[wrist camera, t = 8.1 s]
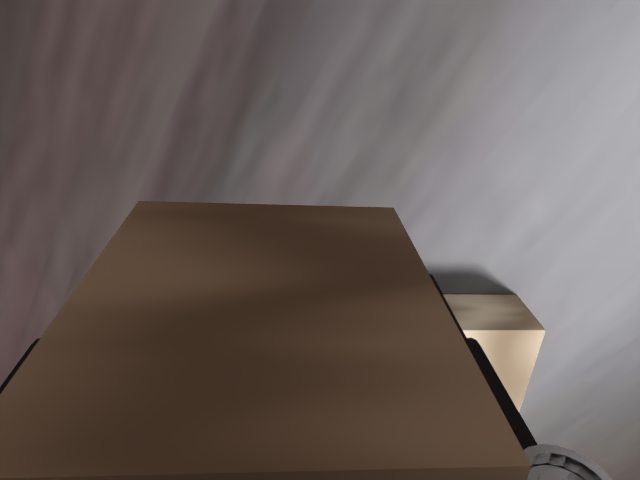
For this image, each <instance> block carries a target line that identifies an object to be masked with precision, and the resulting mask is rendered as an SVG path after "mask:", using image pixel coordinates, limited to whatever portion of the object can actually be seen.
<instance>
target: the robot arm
mask: <svg viewBox="0 0 640 480" xmlns="http://www.w3.org/2000/svg"><path fill="white" fill-rule="evenodd" d="M429 275H430V274H429ZM430 277H431V279H432V281H433V282H434V284H435V286H436V288H437V290H438V292H439V294H440V296H441V297H442V299H443V301H444V303H445V305H446V307H447V309H448V311H449V312H450V314H451V316H452V318H453V320H454V322H455V324H456V325H457V327H458V329H459V331H460V333H461V335H462V337H463V339H464V340H465V342H466V344H467V346H468V348H469V350H470V352H471V353H472V355H473V357H474V359H475V361H476V363H477V365H478V367H479V368H480V370H481V372H482V374H483V376H484V378H485V380H486V382H487V383H488V385H489V387H490V389H491V391H492V393H493V395H494V396H495V398H496V400H497V402H498V404H499V406H500V408H501V410H502V411H503V413H504V415H505V417H506V419H507V421H508V423H509V424H510V426H511V428H512V430H513V432H514V434H515V436H516V438H517V439H518V441H519V443H520V445H521V447H522V449H523V451H524V453H525V454H526V456H527V458H528V460H529V462H530V464H531V469H530V472H529V474H528V477H527V480H612V479H611V477H610V476H609V475H608V474H607V473H606V472H605V471H604V470H603V469H602V468H600V467H599V466H598V465H596V464H595V463H594V462H592V461H591V460H590V459H588V458H586V457H584V456H582V455H580V454H579V453H577V452H575V451H573V450H570V449H566V448H563V447H560V446H557V445H545V444H540V445H537V443H536V441H535V440H534V438H533V436H532V434H531V433H530V431H529V429H528V427H527V426H526V424H525V422H524V420H523V419H522V417H521V415H520V413H519V412H518V410H517V408H516V406H515V405H514V403H513V401H512V399H511V398H510V396H509V394H508V392H507V391H506V389H505V387H504V386H503V384H502V382H501V380H500V379H499V377H498V375H497V373H496V372H495V370H494V368H493V366H492V365H491V363H490V361H489V359H488V358H487V356H486V354H485V352H484V351H483V349H482V347H481V345H480V344H479V343H478V341H477V340H476V339H473V338H466V336H465V334H464V332H463V330H462V328H461V327H460V325H459V323H458V321H457V319H456V317H455V316H454V314H453V312H452V310H451V308H450V306H449V305H448V303H447V301H446V299H445V297H444V295H443V294H442V292H441V290H440V288H439V286H438V284H437V283H436V281H435V279H434V277H433V276H432V275H430ZM39 340H40V338H39V339H36V340H35V342H34V343H33V344H32V345H31V346H30V347H29V349H28V350H27V351H26V353H25V354H24V355H23V357H22V358H21V359H20V361H19V362H18V364H17V365H16V366H15V368H14V369H13V370H12V372H11V373H10V375H9V376H8V377H7V379H6V380H5V381H4V383H3V384H2V385H1V387H0V394H1V393H2V391H3V390H4V388H5V387H6V386H7V384H8V383H9V382H10V380H11V379H12V377H13V376H14V375H15V373H16V372H17V370H18V369H19V368H20V366H21V365H22V363H23V362H24V361H25V359H26V358H27V356H28V355H29V354H30V352H31V351H32V349H33V348H34V347H35V345H36V344H37V342H38V341H39Z"/></svg>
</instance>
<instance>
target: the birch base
mask: <svg viewBox="0 0 640 480" xmlns="http://www.w3.org/2000/svg"><path fill="white" fill-rule="evenodd" d="M443 295H444V297H445V299H446V301H447V303H448V305H449V306H450V308H451V310H452V312H453V314H454V316H455V317H456V319H457V321H458V323H459V325H460V327H461V328H462V330H463V332H464V334H465V336H466V338H473V339H476V340H477V341H478V343H479V344H480V345H481V347H482V349H483V351H484V352H485V354H486V356H487V358H488V359H489V361H490V363H491V365H492V366H493V368H494V370H495V372H496V373H497V375H498V377H499V379H500V380H501V382H502V384H503V386H504V387H505V389H506V391H507V392H508V394H509V396H510V398H511V399H512V401H513V403H514V405H515V406H516V408H517V410H518V412H519V411H520V408H521V405H522V402H523V399H524V395H525V392H526V389H527V386H528V383H529V380H530V377H531V374H532V371H533V368H534V365H535V362H536V359H537V355H538V352H539V349H540V346H541V343H542V340H543V337H544V334H545V331H546V330H545V329H544V327H543V326H542V325H541V324H540V323H539V321H538V320H537V319H536V318H535V316H534V315H533V314H532V313H531V312H530V310H529V309H528V308H527V307H526V305H525V304H524V303H523V302H522V301H521V299H520V298H519V297H518V296H517V295H475V294H443Z"/></svg>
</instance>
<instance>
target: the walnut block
mask: <svg viewBox="0 0 640 480" xmlns="http://www.w3.org/2000/svg"><path fill="white" fill-rule="evenodd" d="M530 469H531V464H530V462H529V460H528V458H527V456H526V454H525V453H524V451H523V449H522V447H521V445H520V443H519V441H518V439H517V438H516V436H515V434H514V432H513V430H512V428H511V426H510V424H509V423H508V421H507V419H506V417H505V415H504V413H503V411H502V410H501V408H500V406H499V404H498V402H497V400H496V398H495V396H494V395H493V393H492V391H491V389H490V387H489V385H488V383H487V382H486V380H485V378H484V376H483V374H482V372H481V370H480V368H479V367H478V365H477V363H476V361H475V359H474V357H473V355H472V353H471V352H470V350H469V348H468V346H467V344H466V342H465V340H464V339H463V337H462V335H461V333H460V331H459V329H458V327H457V325H456V324H455V322H454V320H453V318H452V316H451V314H450V312H449V311H448V309H447V307H446V305H445V303H444V301H443V299H442V297H441V296H440V294H439V292H438V290H437V288H436V286H435V284H434V282H433V281H432V279H431V277H430V275H429V273H428V271H427V269H426V268H425V266H424V264H423V262H422V260H421V258H420V256H419V254H418V253H417V251H416V249H415V247H414V245H413V243H412V241H411V239H410V238H409V236H408V234H407V232H406V230H405V228H404V226H403V225H402V223H401V221H400V219H399V217H398V215H397V213H396V211H395V210H394V208H384V207H345V206H306V205H266V204H227V203H188V202H149V201H138V203H137V204H136V206H135V207H134V208H133V210H132V211H131V213H130V214H129V215H128V217H127V218H126V220H125V221H124V222H123V224H122V225H121V227H120V228H119V229H118V231H117V232H116V233H115V235H114V236H113V238H112V239H111V240H110V242H109V243H108V245H107V246H106V247H105V249H104V250H103V252H102V253H101V254H100V256H99V257H98V259H97V260H96V261H95V263H94V264H93V266H92V267H91V268H90V270H89V271H88V273H87V274H86V275H85V277H84V278H83V280H82V281H81V282H80V284H79V285H78V287H77V288H76V289H75V291H74V292H73V294H72V295H71V296H70V298H69V299H68V301H67V302H66V303H65V305H64V306H63V308H62V309H61V310H60V312H59V313H58V314H57V316H56V317H55V319H54V320H53V321H52V323H51V324H50V326H49V327H48V328H47V330H46V331H45V333H44V334H43V335H42V337H41V338H40V340H39V341H38V342H37V344H36V345H35V347H34V348H33V349H32V351H31V352H30V354H29V355H28V356H27V358H26V359H25V361H24V362H23V363H22V365H21V366H20V368H19V369H18V370H17V372H16V373H15V375H14V376H13V377H12V379H11V380H10V382H9V383H8V384H7V386H6V387H5V388H4V390H3V391H2V393H1V394H0V480H527V477H528V474H529V472H530Z"/></svg>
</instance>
